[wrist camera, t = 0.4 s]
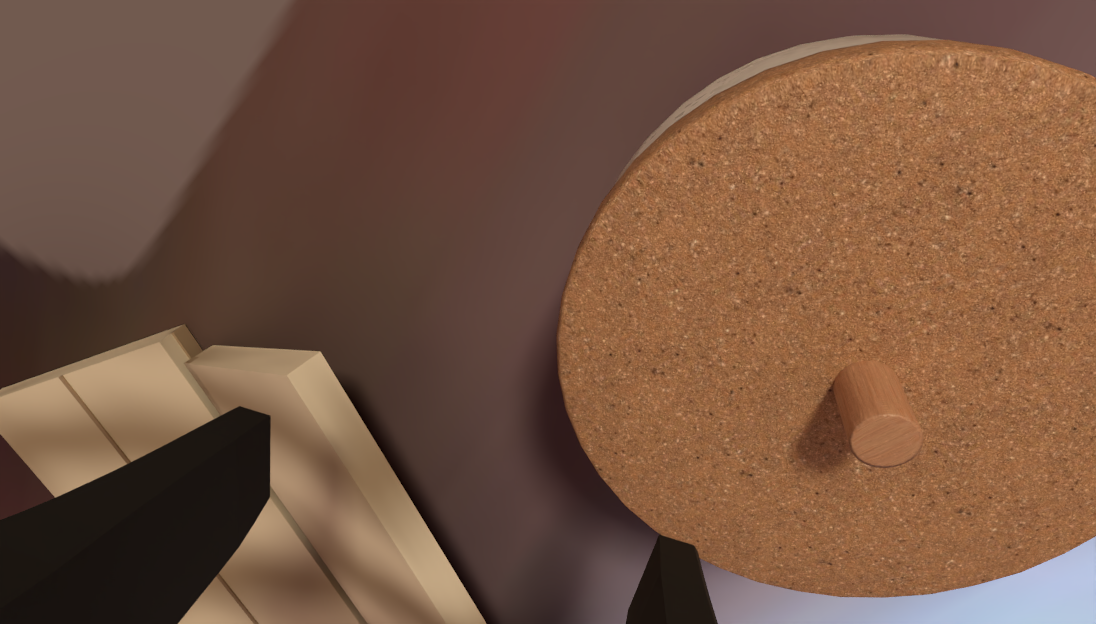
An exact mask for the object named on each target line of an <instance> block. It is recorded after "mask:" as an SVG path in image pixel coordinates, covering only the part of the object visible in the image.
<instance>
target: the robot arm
mask: <svg viewBox="0 0 1096 624" xmlns="http://www.w3.org/2000/svg"><path fill="white" fill-rule="evenodd" d="M270 438H271V415H267V414H264V413H261V412H257V411H254V410H251V409H248V408H244V407H241V406H238V407H237V408H235V409H233V410H231V411H229V412H227V413H225V414H223V415H221V416H219V417H217V418H215V419H213V420H211V421H209V422H207V423H206V424H204V425H202V426H200V427H198V428H196V429H194V430H192V431H190V432H188V433H187V434H185V435H183V436H181V437H179V438H177V439H175V440H173V441H171V442H169V443H168V444H166V445H164V446H162V447H160V448H158V449H156V450H154V451H152V452H150V453H148V454H146V455H144V456H142V457H140V458H138V459H136V460H134V461H132V462H130V463H128V464H126V465H124V466H122V467H120V468H118V469H116V470H114V471H112V472H110V473H108V474H106V475H104V476H101V477H99V478H97V479H95V480H93V481H91V482H88V483H86V484H84V485H82V486H80V487H78V488H75V489H73V490H71V491H69V492H67V493H65V494H62V495H60V496H58V497H56V498H54V499H51V500H49V501H47V502H44V503H42V504H40V505H37V506H35V507H32V508H30V509H28V510H25V511H23V512H20V513H18V514H15V515H13V516H10V517H7V518H5V519H2V520H0V624H178V623H179V622H180V620H181V619H182V618H183V617H184V616H185V614H186V613H187V612H188V611H189V609H190V608H191V607H192V606H193V604H194V603H195V602H196V601H197V599H198V598H199V597H200V596H201V594H202V593H203V592H204V591H205V590H206V588H207V587H208V586H209V585H210V583H211V582H212V581H213V580H214V578H215V577H216V576H217V575H218V573H219V572H220V571H221V569H222V568H223V567H224V566H225V564H226V563H227V562H228V561H229V559H230V558H231V557H232V556H233V554H234V553H235V552H236V550H237V549H238V548H239V547H240V545H241V543H242V542H243V540H244V539H245V537H246V536H247V534H248V532H249V531H250V529H251V528H252V526H253V525H254V523H255V521H256V520H257V518H258V516H259V515H260V513H261V511H262V510H263V508H264V506H265V505H266V503H267V501H268V500H269V498H270ZM626 624H718V623H717V620H716V616H715V613H714V610H713V607H712V603H711V600H710V597H709V593H708V589H707V586H706V582H705V579H704V575H703V571H702V567H701V563H700V559H699V554H698V551H697V549H696V548H695V546H694V545H692V544H689V543H685V542H682V541H679V540H675V539H672V538H669V537H666V536H662V535H659V537H658V539H657V542H656V544H655V546H654V549H653V551H652V554H651V556H650V559H649V561H648V563H647V566H646V568H645V571H644V573H643V576H642V578H641V580H640V583H639V585H638V588H637V590H636V593H635V595H634V597H633V600H632V602H631V605H630V607H629V610H628V614H627V620H626Z"/></svg>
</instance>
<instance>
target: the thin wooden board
mask: <svg viewBox="0 0 1096 624" xmlns="http://www.w3.org/2000/svg"><path fill="white" fill-rule="evenodd" d="M201 352H203V350H202V349H201V347H200V346H199V344H198V343H197V342H196V340H195V339H194V337H193V336H192V334H191V333H190V331H189V330H188V328H187V327H186V326H185V324H184V325H181V326H178V327H175V328H172V329H169V330H167V331H164V332H161V333H158V334H155V335H152V336H150V337H147V338H144V339H141V340H138V341H135V342H133V343H130V344H127V345H124V346H121V347H118V348H116V349H113V350H110V351H107V352H104V353H101V354H99V355H96V356H93V357H90V358H87V359H84V360H81V361H79V362H76V363H73V364H70V365H67V366H64V367H62V368H59V369H56V370H53V371H50V372H47V373H45V374H42V375H39V376H36V377H33V378H30V379H28V380H25V381H22V382H19V383H16V384H13V385H11V386H8V387H5V388H2V389H1V390H0V434H1V435H2V436H3V437H4V439H5V440H6V441H7V442H8V443H9V444H10V445H11V447H12V448H13V449H14V450H15V451H16V452H17V454H18V455H19V456H20V457H21V458H22V459H23V461H24V462H25V463H26V464H27V465H28V466H29V467H30V469H31V470H32V471H33V472H34V473H35V474H36V476H37V477H38V478H39V479H40V480H41V481H42V483H43V484H44V485H45V486H46V487H47V488H48V490H49V491H50V492H51V493H52V494H53V495H54V496H55V498H56V497H58V496H60V495H62V494H65V493H67V492H69V491H71V490H73V489H75V488H78V487H80V486H82V485H84V484H86V483H88V482H91V481H93V480H95V479H97V478H99V477H101V476H104V475H106V474H108V473H110V472H112V471H114V470H116V469H118V468H120V467H122V466H124V465H126V464H128V463H130V462H132V461H134V460H136V459H138V458H140V457H142V456H144V455H146V454H148V453H150V452H152V451H154V450H156V449H158V448H160V447H162V446H164V445H166V444H168V443H169V442H171V441H173V440H175V439H177V438H179V437H181V436H183V435H185V434H187V433H188V432H190V431H192V430H194V429H196V428H198V427H200V426H202V425H204V424H206V423H207V422H209V421H211V420H213V419H215V418H217V417H219V416H221V415H220V414H219V413H218V411H217V410H216V408H215V407H214V405H213V404H212V403H211V401H210V400H209V398H208V397H207V396H206V394H205V393H204V391H203V390H202V388H201V387H200V386H199V384H198V383H197V381H196V380H195V378H194V377H193V376H192V374H191V373H190V371H189V370H188V369H187V367H186V366H185V364H184V363H185V362H186V361H188V360H190V359H191V358H193V357H195V356H196V355H198V354H200V353H201ZM178 624H367V623H366V621H365V620H364V618H363V617H362V616H361V614H360V613H359V611H358V610H357V609H356V607H355V606H354V604H353V603H352V601H351V600H350V599H349V597H348V596H347V594H346V593H345V591H344V590H343V589H342V587H341V586H340V584H339V583H338V582H337V580H336V579H335V577H334V576H333V574H332V573H331V572H330V570H329V569H328V567H327V566H326V564H325V563H324V562H323V560H322V559H321V557H320V556H319V555H318V553H317V552H316V550H315V549H314V547H313V546H312V545H311V543H310V542H309V540H308V539H307V538H306V536H305V535H304V533H303V532H302V530H301V529H300V528H299V526H298V525H297V523H296V522H295V520H294V519H293V518H292V516H291V515H290V513H289V512H288V511H287V509H286V508H285V506H284V505H283V503H282V502H281V501H280V499H279V498H278V496H277V495H276V494H275V492H274V491H273V489H272V488H271V486H270V498H269V500H268V501H267V503H266V505H265V506H264V508H263V510H262V511H261V513H260V515H259V516H258V518H257V520H256V521H255V523H254V525H253V526H252V528H251V529H250V531H249V532H248V534H247V536H246V537H245V539H244V540H243V542H242V543H241V545H240V547H239V548H238V549H237V550H236V552H235V553H234V554H233V556H232V557H231V558H230V559H229V561H228V562H227V563H226V564H225V566H224V567H223V568H222V569H221V571H220V572H219V573H218V575H217V576H216V577H215V578H214V580H213V581H212V582H211V583H210V585H209V586H208V587H207V588H206V590H205V591H204V592H203V593H202V594H201V596H200V597H199V598H198V599H197V601H196V602H195V603H194V604H193V606H192V607H191V608H190V609H189V611H188V612H187V613H186V614H185V616H184V617H183V618H182V619H181V620H180V622H179V623H178Z"/></svg>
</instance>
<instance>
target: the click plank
mask: <svg viewBox="0 0 1096 624" xmlns="http://www.w3.org/2000/svg"><path fill="white" fill-rule="evenodd" d="M184 364H185V366H186V367H187V369H188V370H189V371H190V373H191V374H192V376H193V377H194V378H195V380H196V381H197V383H198V384H199V386H200V387H201V388H202V390H203V391H204V393H205V394H206V396H207V397H208V398H209V400H210V401H211V403H212V404H213V405H214V407H215V408H216V410H217V411H218V413H219V414H220V415H223V414H225V413H227V412H229V411H231V410H233V409H235V408H237V407H238V406H241V407H244V408H248V409H251V410H254V411H257V412H261V413H264V414H267V415H271V438H270V486H271V488H272V489H273V491H274V492H275V494H276V495H277V496H278V498H279V499H280V501H281V502H282V503H283V505H284V506H285V508H286V509H287V511H288V512H289V513H290V515H291V516H292V518H293V519H294V520H295V522H296V523H297V525H298V526H299V528H300V529H301V530H302V532H303V533H304V535H305V536H306V538H307V539H308V540H309V542H310V543H311V545H312V546H313V547H314V549H315V550H316V552H317V553H318V555H319V556H320V557H321V559H322V560H323V562H324V563H325V564H326V566H327V567H328V569H329V570H330V572H331V573H332V574H333V576H334V577H335V579H336V580H337V582H338V583H339V584H340V586H341V587H342V589H343V590H344V591H345V593H346V594H347V596H348V597H349V599H350V600H351V601H352V603H353V604H354V606H355V607H356V609H357V610H358V611H359V613H360V614H361V616H362V617H363V618H364V620H365V621H366V623H367V624H486V622H485V620H484V619H483V617H482V615H481V614H480V612H479V610H478V609H477V607H476V606H475V604H474V602H473V601H472V599H471V597H470V596H469V594H468V592H467V591H466V589H465V588H464V586H463V584H462V583H461V581H460V579H459V578H458V576H457V574H456V573H455V571H454V570H453V568H452V566H451V565H450V563H449V561H448V560H447V558H446V556H445V555H444V553H443V552H442V550H441V548H440V547H439V545H438V543H437V542H436V540H435V538H434V537H433V535H432V534H431V532H430V530H429V529H428V527H427V525H426V524H425V522H424V520H423V519H422V517H421V516H420V514H419V512H418V511H417V509H416V507H415V506H414V504H413V502H412V501H411V499H410V498H409V496H408V494H407V493H406V491H405V489H404V488H403V486H402V484H401V483H400V481H399V480H398V478H397V476H396V475H395V473H394V471H393V470H392V468H391V466H390V465H389V463H388V462H387V460H386V458H385V457H384V455H383V453H382V452H381V450H380V448H379V447H378V445H377V443H376V442H375V440H374V439H373V437H372V435H371V434H370V432H369V430H368V429H367V427H366V425H365V424H364V422H363V421H362V419H361V417H360V416H359V414H358V412H357V411H356V409H355V407H354V406H353V404H352V403H351V401H350V399H349V398H348V396H347V394H346V393H345V391H344V389H343V388H342V386H341V385H340V383H339V381H338V380H337V378H336V376H335V375H334V373H333V371H332V370H331V368H330V367H329V365H328V363H327V362H326V360H325V358H324V357H323V355H322V353H321V352H320V351H303V350H286V349H269V348H252V347H235V346H217V345H212V346H211V347H209V348H208V349H206V350H204V351H203V352H201V353H200V354H198V355H196V356H195V357H193V358H191V359H190V360H188V361H186V362H185V363H184Z"/></svg>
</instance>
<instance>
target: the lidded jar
mask: <svg viewBox="0 0 1096 624" xmlns="http://www.w3.org/2000/svg"><path fill="white" fill-rule="evenodd" d="M556 336H557V363H558V376H559V381H560V385H561V390H562V394H563V399H564V403H565V408H566V411H567V414H568V416H569V419H570V421H571V424H572V426H573V428H574V431H575V433H576V436H577V438H578V441H579V443H580V445H581V447H582V448H583V450H584V451H585V453H586V455H587V456H588V458H589V460H590V461H591V463H592V464H593V466H594V468H595V469H596V471H597V472H598V474H599V475H600V477H601V478H602V479H603V480H604V481H605V482H606V484H607V485H608V486H609V487H610V488H611V489H612V491H613V492H614V493H615V494H616V495H617V496H618V498H619V499H620V500H621V501H622V502H623V503H624V505H625V506H626V507H627V508H629V509H630V510H631V511H632V512H633V513H635V514H636V515H637V516H638V517H639V518H640V519H642V520H643V521H644V522H645V523H646V524H647V525H649V526H650V527H651V528H652V529H653V530H655V531H656V532H658V533H659V534H661V535H662V536H666V537H669V538H672V539H675V540H679V541H682V542H685V543H689V544H692V545H694V546H695V548H696V549H697V551H698V554H699V558H700V559H702V560H705V561H707V562H709V563H711V564H713V565H715V566H717V567H719V568H721V569H724V570H727V571H730V572H732V573H735V574H738V575H740V576H743V577H746V578H749V579H751V580H754V581H757V582H760V583H765V584H769V585H774V586H778V587H783V588H787V589H791V590H796V591H802V592H809V593H816V594H824V595H831V596H838V597H897V596H911V595H925V594H933V593H938V592H943V591H948V590H954V589H959V588H964V587H969V586H974V585H978V584H981V583H985V582H988V581H992V580H995V579H999V578H1002V577H1006V576H1009V575H1013V574H1016V573H1020V572H1022V571H1025V570H1027V569H1029V568H1032V567H1034V566H1036V565H1039V564H1041V563H1043V562H1046V561H1048V560H1050V559H1052V558H1055V557H1057V556H1059V555H1062V554H1064V553H1066V552H1068V551H1070V550H1071V549H1073V548H1075V547H1077V546H1079V545H1081V544H1082V543H1084V542H1086V541H1088V540H1090V539H1092V538H1093V537H1095V536H1096V78H1095V77H1093V76H1091V75H1089V74H1086V73H1084V72H1081V71H1079V70H1076V69H1072V68H1069V67H1066V66H1063V65H1060V64H1057V63H1054V62H1051V61H1048V60H1045V59H1042V58H1038V57H1035V56H1032V55H1029V54H1026V53H1023V52H1020V51H1016V50H1013V49H1008V48H1001V47H994V46H987V45H980V44H973V43H966V42H959V41H952V40H941V39H934V38H927V37H920V36H913V35H857V36H848V37H841V38H836V39H830V40H824V41H818V42H813V43H807V44H801V45H798V46H795V47H792V48H789V49H786V50H783V51H780V52H777V53H774V54H771V55H768V56H765V57H762V58H759V59H756V60H754V61H752V62H750V63H748V64H746V65H744V66H742V67H740V68H739V69H737V70H735V71H733V72H731V73H729V74H727V75H725V76H723V77H721V78H719V79H717V80H716V81H714V82H713V83H712V84H710V85H709V86H707V87H706V88H704V89H703V90H702V91H700V92H699V93H697V94H696V95H695V96H693V97H692V98H690V99H689V100H687V101H686V102H685V103H683V104H682V105H681V106H680V107H679V108H678V109H677V110H676V111H675V112H674V113H673V114H672V115H671V116H670V117H669V118H668V119H667V120H666V121H665V122H663V123H662V124H661V125H660V126H659V127H658V128H657V129H656V130H655V131H654V132H653V133H652V134H651V135H650V136H649V137H648V138H647V139H646V140H645V142H644V143H643V144H642V146H641V147H640V148H639V149H638V151H637V152H636V153H635V155H634V156H633V157H632V159H631V160H630V161H629V163H628V164H627V165H626V166H625V168H624V169H623V170H622V172H621V174H620V176H619V178H618V179H617V181H616V183H615V185H614V187H613V188H612V189H611V191H610V192H609V193H608V195H607V196H606V197H605V198H604V200H603V201H602V203H601V205H600V206H599V208H598V210H597V212H596V214H595V216H594V218H593V220H592V221H591V223H590V225H589V227H588V229H587V231H586V233H585V235H584V236H583V238H582V240H581V242H580V244H579V247H578V249H577V252H576V255H575V258H574V261H573V264H572V267H571V270H570V273H569V276H568V279H567V282H566V285H565V288H564V291H563V294H562V300H561V307H560V314H559V321H558V328H557V335H556Z"/></svg>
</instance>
